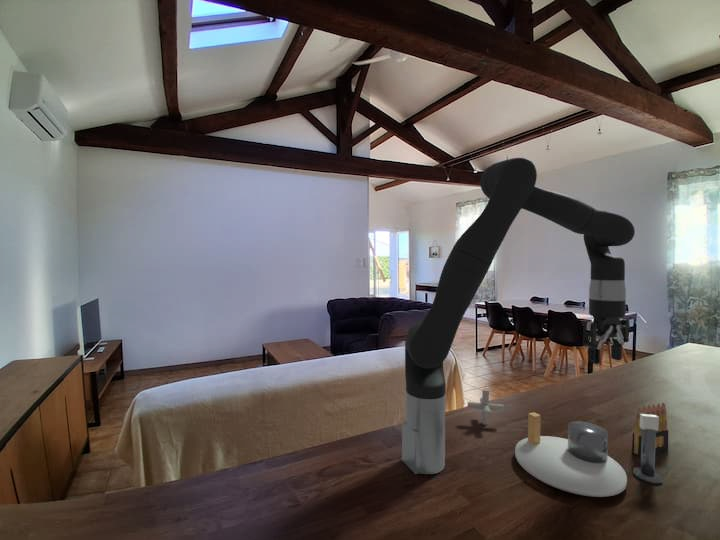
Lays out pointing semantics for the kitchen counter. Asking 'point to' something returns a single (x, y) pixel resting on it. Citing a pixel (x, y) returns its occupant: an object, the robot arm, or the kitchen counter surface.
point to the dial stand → (648, 450)
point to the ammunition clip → (660, 434)
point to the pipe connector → (485, 406)
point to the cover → (588, 442)
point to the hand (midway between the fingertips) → (605, 361)
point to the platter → (566, 465)
